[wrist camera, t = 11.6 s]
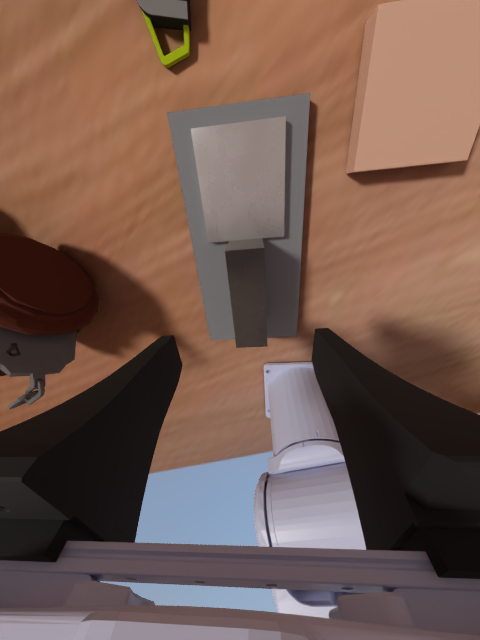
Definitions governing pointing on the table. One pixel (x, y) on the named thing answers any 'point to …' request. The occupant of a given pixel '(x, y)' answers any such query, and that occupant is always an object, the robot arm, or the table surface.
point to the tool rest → (278, 250)
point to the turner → (243, 209)
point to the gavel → (40, 311)
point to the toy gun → (168, 25)
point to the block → (417, 85)
